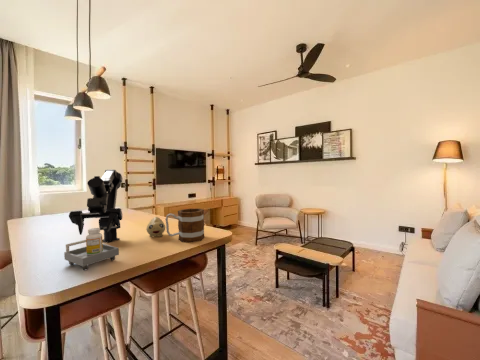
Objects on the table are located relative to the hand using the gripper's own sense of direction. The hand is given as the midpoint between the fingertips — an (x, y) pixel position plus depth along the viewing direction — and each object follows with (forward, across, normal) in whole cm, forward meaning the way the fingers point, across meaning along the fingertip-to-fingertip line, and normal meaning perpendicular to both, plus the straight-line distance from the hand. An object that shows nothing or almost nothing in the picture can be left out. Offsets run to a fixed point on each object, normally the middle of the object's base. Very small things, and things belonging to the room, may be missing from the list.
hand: (93, 233), depth 91 cm
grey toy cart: (+10, 0, +6) cm, 11 cm away
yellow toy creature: (-11, +23, +27) cm, 37 cm away
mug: (-3, +37, +19) cm, 42 cm away
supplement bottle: (+7, +1, +4) cm, 8 cm away
